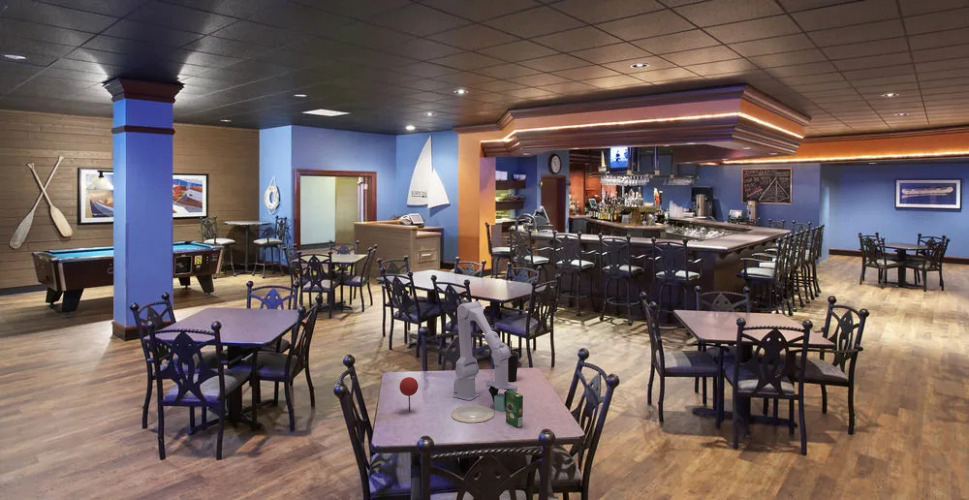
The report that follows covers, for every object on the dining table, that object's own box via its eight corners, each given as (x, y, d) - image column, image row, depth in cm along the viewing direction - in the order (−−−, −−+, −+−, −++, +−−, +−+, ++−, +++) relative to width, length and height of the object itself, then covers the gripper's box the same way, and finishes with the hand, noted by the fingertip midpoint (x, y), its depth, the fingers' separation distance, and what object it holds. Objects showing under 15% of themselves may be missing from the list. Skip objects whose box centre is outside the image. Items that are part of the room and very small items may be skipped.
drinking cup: (502, 378, 293) (502, 339, 291) (517, 377, 293) (517, 338, 291) (504, 383, 285) (504, 343, 283) (520, 382, 286) (519, 342, 284)
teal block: (494, 409, 251) (494, 396, 251) (499, 406, 255) (499, 393, 254) (503, 411, 249) (503, 398, 248) (508, 408, 253) (508, 394, 252)
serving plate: (442, 417, 243) (442, 415, 243) (466, 404, 258) (466, 402, 258) (479, 426, 233) (479, 424, 233) (502, 411, 248) (502, 409, 248)
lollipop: (421, 409, 252) (420, 375, 250) (413, 416, 245) (412, 381, 243) (405, 407, 254) (404, 374, 253) (397, 414, 247) (396, 379, 246)
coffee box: (523, 426, 232) (523, 394, 231) (517, 428, 231) (517, 396, 229) (511, 420, 239) (511, 389, 238) (505, 422, 237) (505, 390, 236)
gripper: (482, 374, 251) (482, 405, 252) (511, 379, 243) (511, 411, 244) (490, 369, 257) (490, 400, 258) (519, 375, 249) (519, 406, 250)
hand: (501, 405), depth 252 cm, fingers open, 5 cm apart
